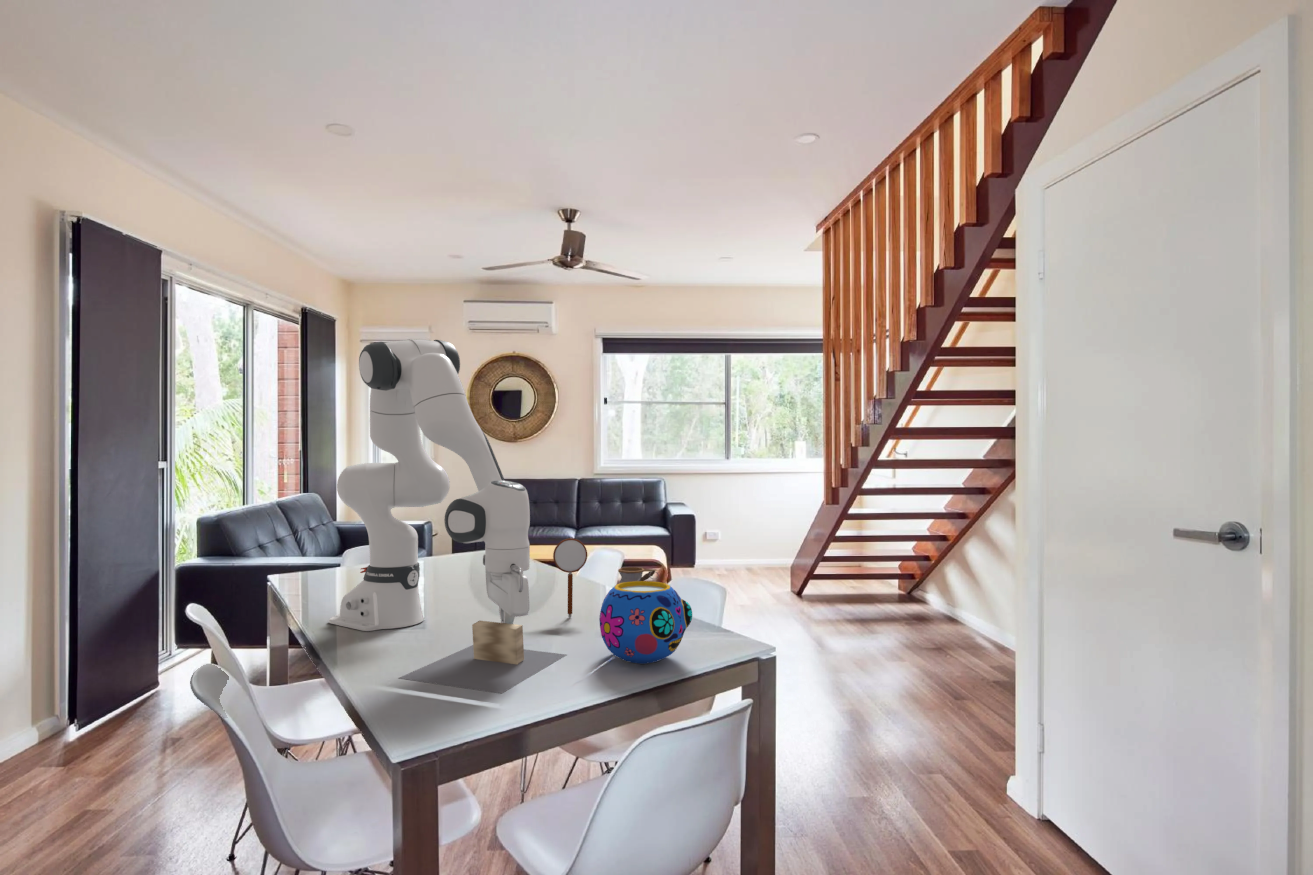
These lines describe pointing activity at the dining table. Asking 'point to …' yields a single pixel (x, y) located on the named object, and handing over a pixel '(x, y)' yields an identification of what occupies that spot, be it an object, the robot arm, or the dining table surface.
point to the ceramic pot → (643, 621)
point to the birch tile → (498, 642)
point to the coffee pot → (634, 574)
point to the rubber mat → (482, 671)
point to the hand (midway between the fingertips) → (507, 629)
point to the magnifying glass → (570, 562)
